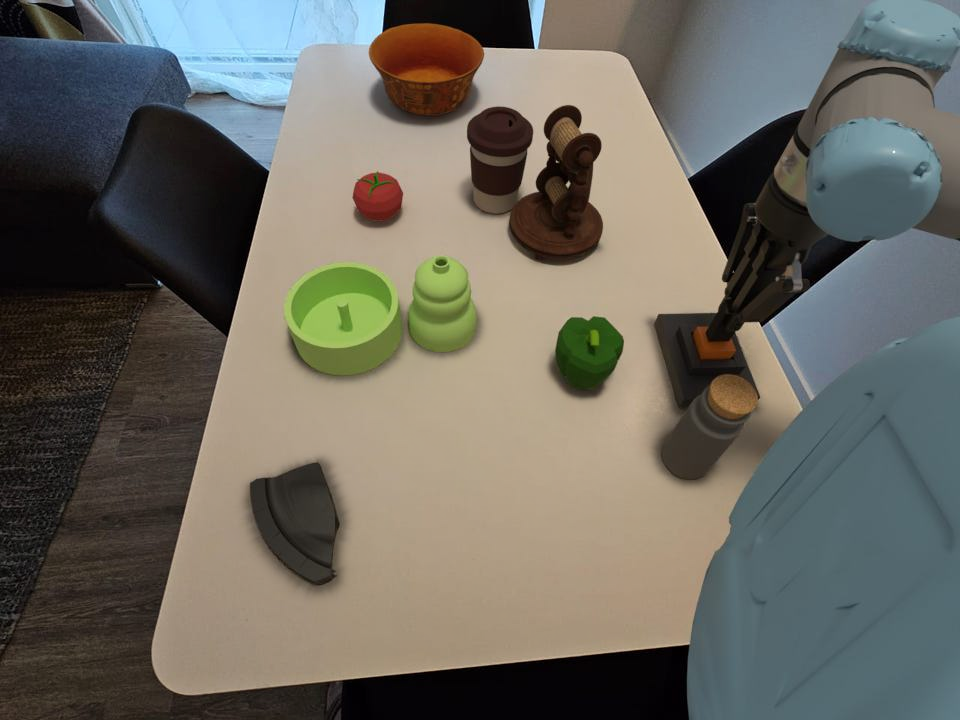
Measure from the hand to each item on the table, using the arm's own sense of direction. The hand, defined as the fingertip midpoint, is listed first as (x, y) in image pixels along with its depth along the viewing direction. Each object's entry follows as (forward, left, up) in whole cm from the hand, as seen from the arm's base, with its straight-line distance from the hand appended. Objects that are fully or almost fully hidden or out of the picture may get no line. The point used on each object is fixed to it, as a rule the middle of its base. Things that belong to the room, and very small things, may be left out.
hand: (717, 336), depth 73 cm
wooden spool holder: (+26, +17, -6) cm, 32 cm away
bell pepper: (-1, +17, -6) cm, 18 cm away
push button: (0, 0, -6) cm, 6 cm away
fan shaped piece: (-20, +52, -6) cm, 56 cm away
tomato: (+31, +45, -6) cm, 55 cm away
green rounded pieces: (+7, +43, -6) cm, 44 cm away
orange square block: (0, 0, -2) cm, 2 cm away
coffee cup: (+34, +26, -6) cm, 43 cm away
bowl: (+64, +37, -6) cm, 74 cm away
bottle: (-14, +6, -6) cm, 16 cm away
